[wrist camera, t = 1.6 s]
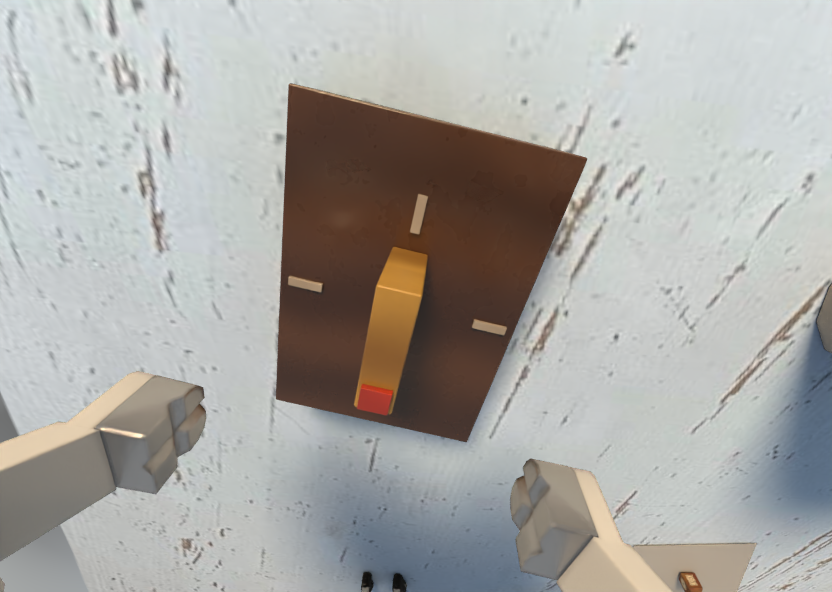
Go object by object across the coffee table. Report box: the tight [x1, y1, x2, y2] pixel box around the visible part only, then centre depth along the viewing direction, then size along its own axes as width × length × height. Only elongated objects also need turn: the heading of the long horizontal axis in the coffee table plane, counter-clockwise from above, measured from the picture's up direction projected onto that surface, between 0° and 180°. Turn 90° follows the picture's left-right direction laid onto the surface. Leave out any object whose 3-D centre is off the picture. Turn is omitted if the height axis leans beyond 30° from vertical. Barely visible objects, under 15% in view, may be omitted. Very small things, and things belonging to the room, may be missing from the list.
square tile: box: [633, 543, 757, 592], centre depth 26 cm, size 8×8×2 cm
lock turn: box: [354, 247, 428, 416], centre depth 13 cm, size 5×1×4 cm, turn 167°
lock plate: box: [276, 83, 587, 442], centre depth 16 cm, size 14×10×3 cm
